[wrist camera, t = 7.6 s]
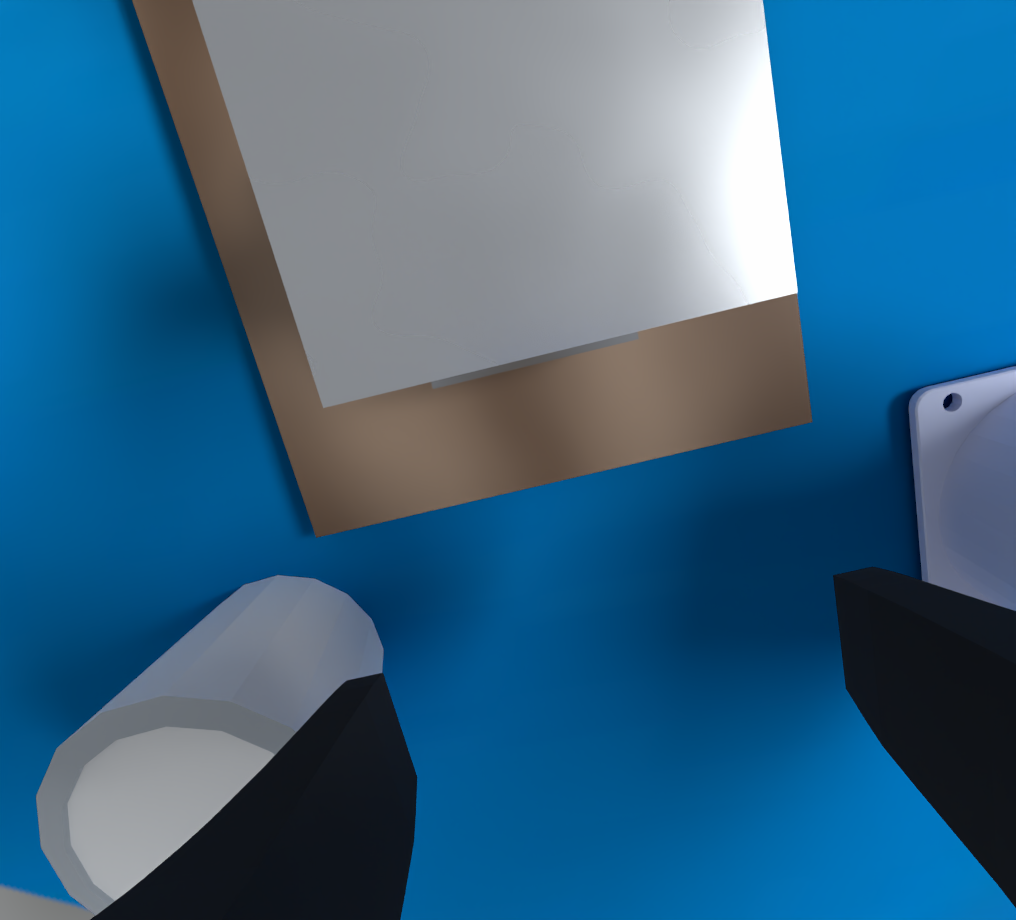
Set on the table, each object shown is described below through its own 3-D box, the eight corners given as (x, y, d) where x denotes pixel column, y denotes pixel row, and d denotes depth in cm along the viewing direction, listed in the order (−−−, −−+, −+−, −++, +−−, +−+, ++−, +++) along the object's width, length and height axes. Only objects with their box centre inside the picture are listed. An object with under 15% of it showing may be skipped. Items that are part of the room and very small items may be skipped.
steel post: (583, 54, 12) (734, -344, 4) (626, 285, 13) (809, 299, 5) (362, 112, 12) (126, -166, 5) (422, 335, 13) (317, 419, 6)
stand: (701, -331, 14) (1023, -1291, 6) (796, 414, 19) (1057, 537, 10) (96, -154, 15) (-470, -756, 6) (325, 524, 20) (181, 730, 11)
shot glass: (329, 517, 20) (241, 644, 13) (443, 695, 21) (417, 890, 15) (138, 616, 20) (-39, 784, 14) (262, 780, 22) (159, 1002, 15)
